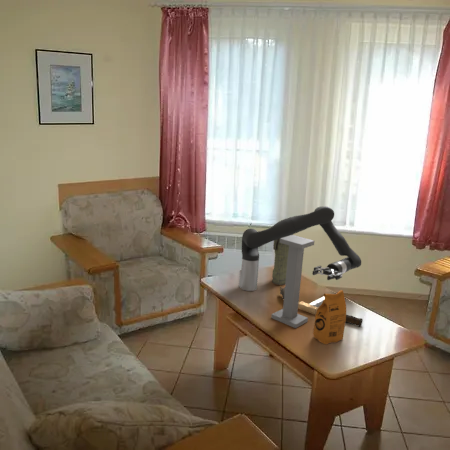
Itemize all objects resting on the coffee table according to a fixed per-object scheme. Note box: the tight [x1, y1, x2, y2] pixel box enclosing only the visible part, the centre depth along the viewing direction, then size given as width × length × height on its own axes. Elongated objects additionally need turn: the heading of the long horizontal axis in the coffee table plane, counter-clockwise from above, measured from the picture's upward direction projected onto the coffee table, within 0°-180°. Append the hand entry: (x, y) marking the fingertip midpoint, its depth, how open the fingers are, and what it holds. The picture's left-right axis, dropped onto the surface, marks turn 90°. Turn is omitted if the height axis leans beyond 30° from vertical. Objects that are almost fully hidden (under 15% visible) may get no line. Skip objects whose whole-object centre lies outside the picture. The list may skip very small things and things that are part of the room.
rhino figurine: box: [279, 286, 285, 300], centre depth 244 cm, size 4×14×6 cm, turn 16°
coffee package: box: [312, 289, 347, 345], centre depth 203 cm, size 10×12×22 cm
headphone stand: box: [270, 234, 315, 329], centre depth 216 cm, size 14×10×40 cm
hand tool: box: [345, 314, 364, 328], centre depth 223 cm, size 19×4×5 cm, turn 53°
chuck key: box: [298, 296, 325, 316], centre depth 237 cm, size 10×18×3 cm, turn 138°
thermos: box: [271, 234, 294, 286], centre depth 263 cm, size 9×12×35 cm
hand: (320, 275), depth 235 cm, fingers open, 8 cm apart
